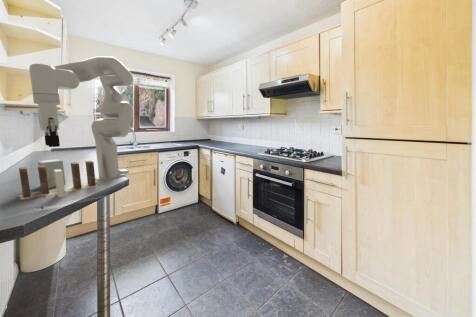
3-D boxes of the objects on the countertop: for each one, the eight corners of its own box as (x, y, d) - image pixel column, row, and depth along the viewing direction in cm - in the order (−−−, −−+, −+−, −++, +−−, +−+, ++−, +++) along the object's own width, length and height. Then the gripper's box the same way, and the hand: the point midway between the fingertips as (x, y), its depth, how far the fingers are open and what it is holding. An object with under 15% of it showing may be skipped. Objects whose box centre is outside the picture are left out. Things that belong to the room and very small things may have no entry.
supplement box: (60, 184, 108) (57, 158, 106) (66, 186, 104) (63, 160, 102) (41, 188, 102) (37, 160, 100) (46, 190, 98) (42, 162, 96)
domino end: (29, 193, 90) (25, 167, 88) (30, 196, 86) (26, 168, 85) (23, 195, 89) (18, 167, 87) (23, 197, 85) (19, 169, 83)
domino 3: (78, 185, 102) (76, 162, 100) (81, 188, 98) (78, 163, 97) (73, 186, 100) (70, 162, 99) (76, 188, 97) (73, 164, 95)
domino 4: (92, 183, 106) (90, 160, 104) (95, 185, 102) (93, 161, 101) (87, 184, 104) (85, 161, 103) (90, 186, 101) (88, 162, 99)
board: (94, 184, 108) (94, 182, 108) (99, 188, 102) (99, 185, 102) (19, 197, 89) (19, 194, 89) (20, 202, 83) (20, 199, 83)
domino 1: (47, 191, 94) (44, 165, 92) (49, 193, 90) (45, 166, 89) (41, 192, 93) (37, 166, 91) (42, 194, 89) (38, 167, 87)
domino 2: (63, 195, 91) (60, 169, 89) (65, 198, 87) (62, 171, 86) (57, 196, 89) (53, 169, 88) (59, 199, 86) (55, 171, 84)
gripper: (31, 101, 86) (37, 145, 89) (35, 97, 74) (41, 148, 77) (56, 102, 92) (61, 144, 94) (63, 98, 79) (68, 146, 82)
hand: (52, 145), depth 85 cm, fingers open, 9 cm apart
